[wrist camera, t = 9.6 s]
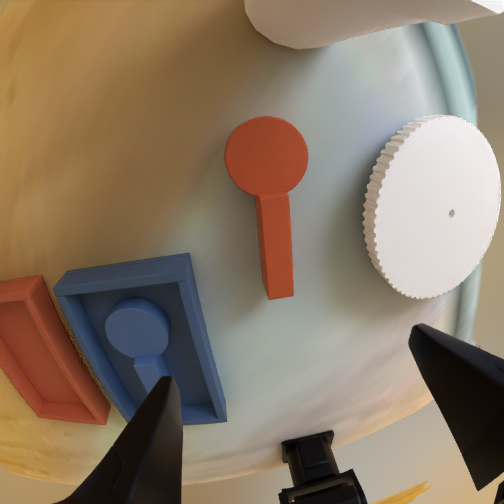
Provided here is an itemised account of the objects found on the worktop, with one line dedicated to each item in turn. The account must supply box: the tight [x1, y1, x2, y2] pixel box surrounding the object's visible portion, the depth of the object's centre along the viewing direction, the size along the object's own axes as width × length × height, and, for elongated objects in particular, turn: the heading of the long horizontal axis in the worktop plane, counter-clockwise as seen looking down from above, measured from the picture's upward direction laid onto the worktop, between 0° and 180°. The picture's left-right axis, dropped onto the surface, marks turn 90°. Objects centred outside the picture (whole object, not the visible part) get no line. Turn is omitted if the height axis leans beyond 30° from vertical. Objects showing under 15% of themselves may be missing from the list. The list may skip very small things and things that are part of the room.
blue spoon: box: [105, 297, 170, 394], centre depth 20 cm, size 11×5×2 cm, turn 6°
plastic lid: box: [363, 115, 501, 299], centre depth 18 cm, size 14×14×2 cm
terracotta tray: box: [0, 275, 110, 425], centre depth 19 cm, size 15×9×2 cm, turn 6°
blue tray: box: [53, 253, 227, 425], centre depth 20 cm, size 15×9×2 cm, turn 6°
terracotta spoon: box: [225, 116, 308, 300], centre depth 17 cm, size 11×5×2 cm, turn 6°
